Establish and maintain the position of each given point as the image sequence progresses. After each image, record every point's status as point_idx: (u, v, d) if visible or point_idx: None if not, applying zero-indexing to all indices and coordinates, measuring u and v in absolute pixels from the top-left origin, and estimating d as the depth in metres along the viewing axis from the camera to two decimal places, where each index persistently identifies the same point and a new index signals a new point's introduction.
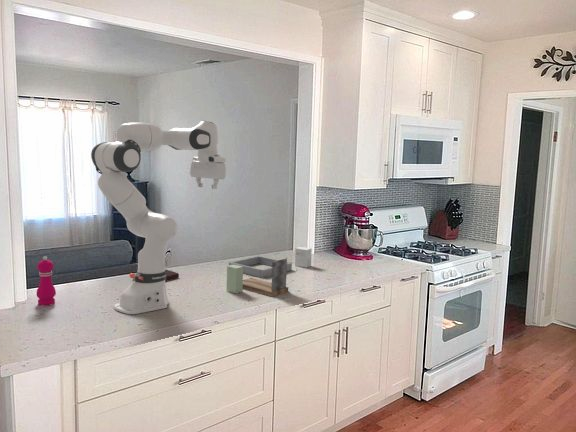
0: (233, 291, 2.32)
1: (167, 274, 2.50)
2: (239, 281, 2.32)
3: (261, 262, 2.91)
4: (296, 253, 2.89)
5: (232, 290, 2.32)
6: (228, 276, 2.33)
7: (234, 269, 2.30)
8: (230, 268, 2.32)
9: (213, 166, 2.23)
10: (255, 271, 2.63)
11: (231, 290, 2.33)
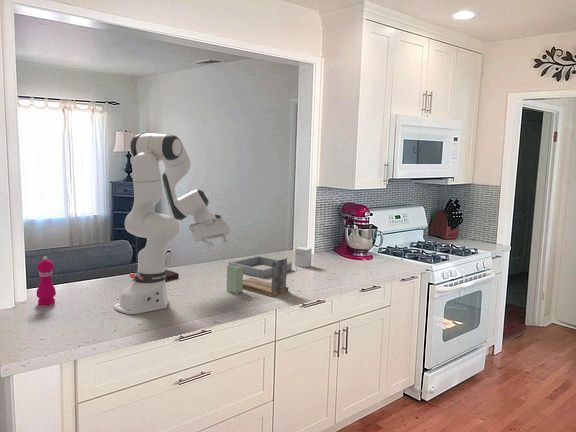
0: (233, 291, 2.32)
1: (167, 274, 2.50)
2: (239, 281, 2.32)
3: (261, 262, 2.91)
4: (296, 253, 2.89)
5: (232, 290, 2.32)
6: (228, 276, 2.33)
7: (234, 269, 2.30)
8: (230, 268, 2.32)
9: (219, 223, 2.46)
10: (255, 271, 2.63)
11: (231, 290, 2.33)
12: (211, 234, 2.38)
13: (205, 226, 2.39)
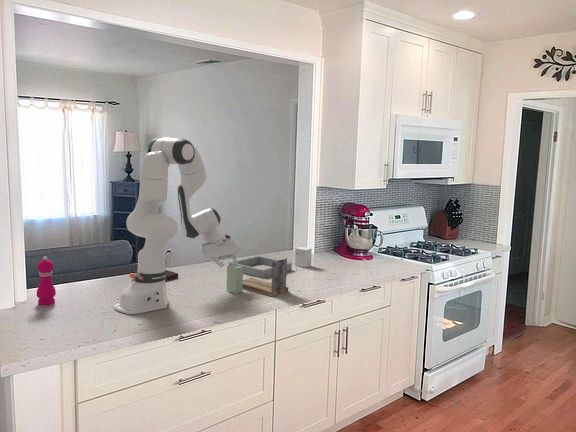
0: (233, 291, 2.32)
1: (166, 274, 2.50)
2: (239, 281, 2.32)
3: (261, 262, 2.91)
4: (296, 253, 2.89)
5: (232, 290, 2.32)
6: (228, 276, 2.33)
7: (234, 269, 2.30)
8: (230, 268, 2.32)
9: (229, 243, 2.42)
10: (255, 271, 2.63)
11: (231, 290, 2.33)
12: (222, 254, 2.35)
13: (216, 246, 2.36)
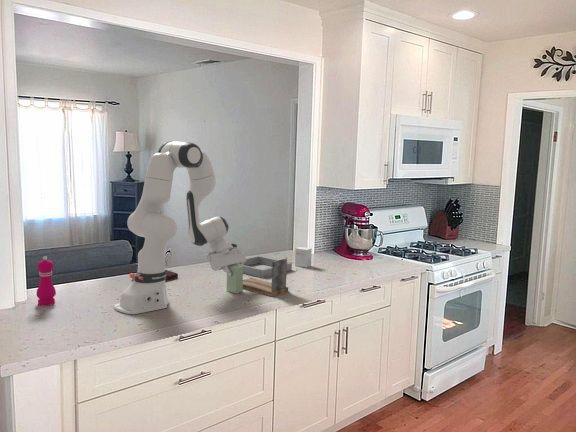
0: (233, 291, 2.32)
1: (166, 274, 2.50)
2: (239, 281, 2.32)
3: (261, 262, 2.91)
4: (296, 253, 2.89)
5: (232, 290, 2.32)
6: (228, 276, 2.33)
7: (234, 269, 2.30)
8: (230, 268, 2.32)
9: (236, 252, 2.40)
10: (255, 271, 2.63)
11: (231, 290, 2.33)
12: (229, 263, 2.32)
13: (222, 255, 2.33)
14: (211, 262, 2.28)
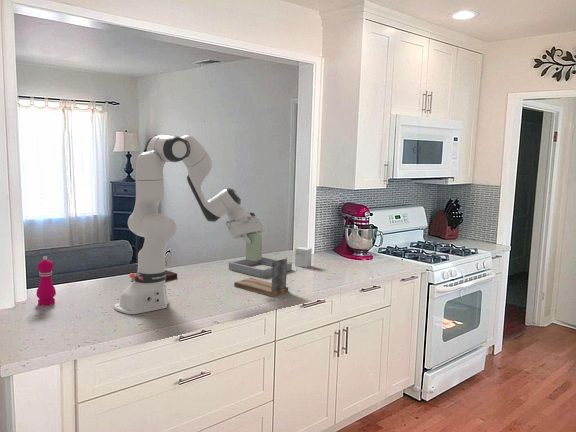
0: (252, 259, 2.33)
1: (166, 274, 2.50)
2: (258, 249, 2.33)
3: (261, 262, 2.91)
4: (296, 253, 2.89)
5: (251, 258, 2.33)
6: (247, 244, 2.34)
7: (253, 237, 2.31)
8: (249, 236, 2.33)
9: (254, 221, 2.41)
10: (255, 271, 2.63)
11: (250, 258, 2.34)
12: (248, 231, 2.33)
13: (241, 223, 2.34)
14: (230, 230, 2.29)
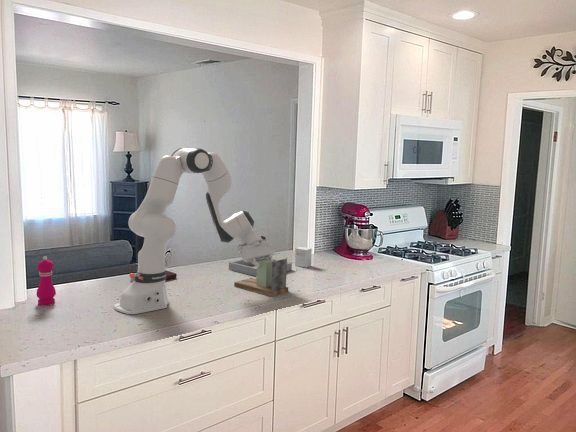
0: (263, 285, 2.36)
1: None
2: (268, 275, 2.36)
3: None
4: (296, 253, 2.89)
5: (262, 284, 2.36)
6: (258, 271, 2.37)
7: (264, 264, 2.34)
8: (260, 263, 2.36)
9: (265, 244, 2.44)
10: (255, 271, 2.63)
11: (261, 284, 2.37)
12: (259, 255, 2.36)
13: (252, 247, 2.37)
14: (242, 254, 2.32)
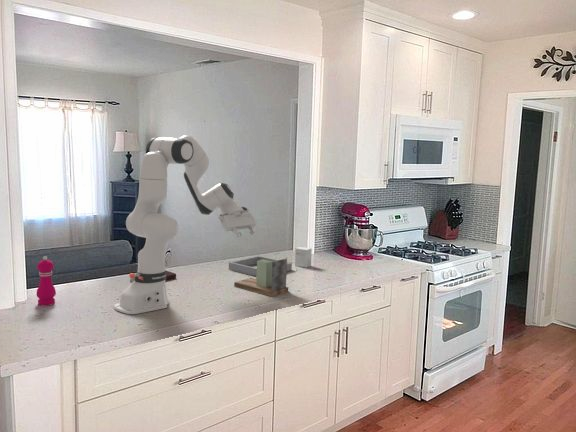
0: (263, 285, 2.36)
1: None
2: (268, 275, 2.36)
3: None
4: (296, 253, 2.89)
5: (262, 284, 2.36)
6: (258, 271, 2.37)
7: (264, 264, 2.34)
8: (260, 263, 2.36)
9: (246, 215, 2.50)
10: (255, 271, 2.63)
11: (261, 284, 2.37)
12: (240, 225, 2.42)
13: (234, 217, 2.43)
14: (223, 223, 2.38)
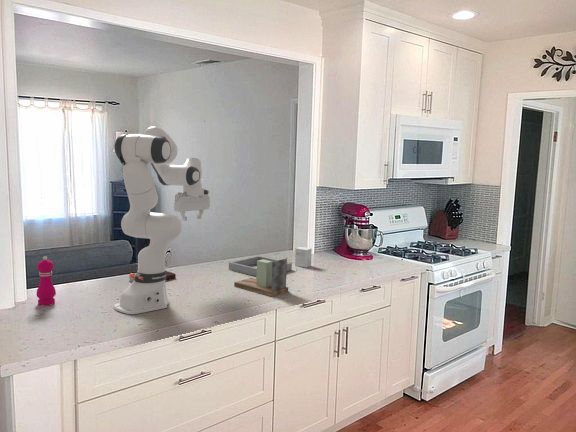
0: (263, 285, 2.36)
1: None
2: (268, 275, 2.36)
3: None
4: (296, 253, 2.89)
5: (262, 284, 2.36)
6: (258, 271, 2.37)
7: (264, 264, 2.34)
8: (260, 263, 2.36)
9: (203, 198, 2.46)
10: (255, 271, 2.63)
11: (261, 284, 2.37)
12: (191, 209, 2.41)
13: (189, 199, 2.40)
14: (176, 203, 2.36)
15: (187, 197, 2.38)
